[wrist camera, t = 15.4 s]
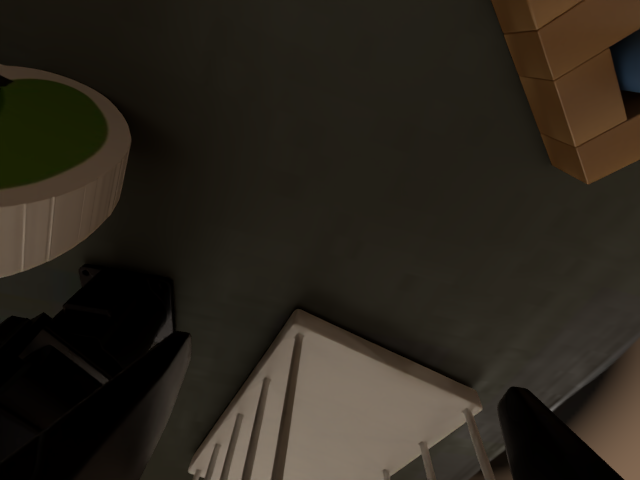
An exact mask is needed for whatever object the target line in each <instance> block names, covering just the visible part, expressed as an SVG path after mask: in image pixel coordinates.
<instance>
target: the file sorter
mask: <svg viewBox="0 0 640 480" xmlns="http://www.w3.org/2000/svg"><path fill="white" fill-rule="evenodd" d="M480 411H482V405H481V402H480V399H479V396H478V393H477V391H476V390H474V389H472V388H470V387H467V386H465V385H463V384H461V383H458V382H456V381H454V380H452V379H450V378H448V377H445V376H443V375H441V374H439V373H437V372H435V371H433V370H430V369H428V368H426V367H424V366H422V365H420V364H417V363H415V362H413V361H411V360H409V359H406V358H404V357H402V356H400V355H398V354H396V353H393V352H391V351H389V350H387V349H385V348H382V347H380V346H378V345H376V344H374V343H372V342H369V341H367V340H365V339H363V338H361V337H359V336H356V335H354V334H352V333H350V332H348V331H346V330H344V329H341V328H339V327H337V326H335V325H333V324H331V323H328V322H326V321H324V320H322V319H320V318H318V317H316V316H313V315H311V314H309V313H307V312H305V311H303V310H301V309H296V310H295V311H294V312H293V313H292V315H291V316H290V318H289V319H288V321H287V322H286V324H285V325H284V327H283V328H282V329H281V331H280V332H279V334H278V335H277V337H276V338H275V340H274V341H273V343H272V344H271V346H270V347H269V349H268V350H267V351H266V353H265V354H264V356H263V357H262V359H261V360H260V361H259V363H258V364H257V366H256V367H255V368H254V370H253V371H252V373H251V374H250V376H249V377H248V378H247V380H246V381H245V383H244V384H243V386H242V387H241V388H240V390H239V391H238V393H237V394H236V396H235V397H234V398H233V400H232V401H231V403H230V404H229V405H228V407H227V408H226V410H225V411H224V413H223V414H222V415H221V417H220V418H219V420H218V421H217V423H216V424H215V425H214V427H213V428H212V430H211V431H210V432H209V434H208V435H207V437H206V438H205V440H204V441H203V443H202V444H201V445H200V447H199V448H198V450H197V451H196V452H195V454H194V455H193V457H192V460H191V463H190V466H189V469H188V472H189V473H191V474H194V477H193V480H198V479H199V476H200V477H204V480H390V476H391V475H393V474H394V473H396V472H397V471H399V470H400V469H401V468H403V467H404V466H405V465H407V464H408V463H410V462H411V461H412V460H414V459H415V458H417V457H418V456H419V455H421V454H422V457H423V461H424V466H425V470H426V475H427V479H428V480H436V479H435V474H434V470H433V466H432V462H431V458H430V454H429V451H428V449H429V448H431V447H432V446H433V445H435V444H436V443H438V442H439V441H440V440H442V439H443V438H444V437H446V436H447V435H449V434H450V433H451V432H453V431H454V430H456V429H457V428H458V427H460V426H461V425H463V424H464V423H465V422H466V421H467V424H468V428H469V432H470V435H471V438H472V442H473V445H474V448H475V451H476V454H477V457H478V460H479V463H480V466H481V469H482V472H483V475H484V478H485V480H495V477H494V474H493V471H492V469H491V466H490V463H489V460H488V457H487V454H486V451H485V449H484V446H483V443H482V440H481V437H480V434H479V431H478V428H477V425H476V423H475V420H474V417H473V416H475V415H476V414H477V413H479V412H480Z"/></svg>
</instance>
